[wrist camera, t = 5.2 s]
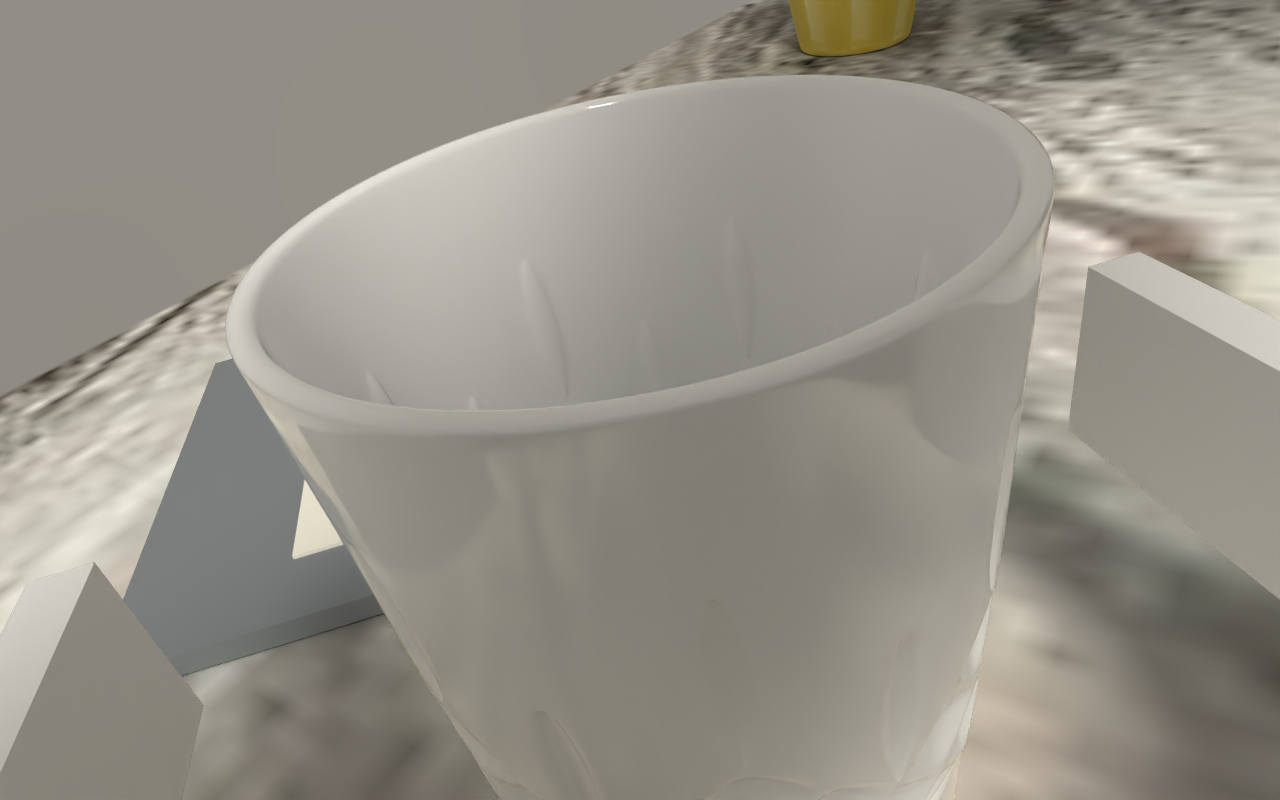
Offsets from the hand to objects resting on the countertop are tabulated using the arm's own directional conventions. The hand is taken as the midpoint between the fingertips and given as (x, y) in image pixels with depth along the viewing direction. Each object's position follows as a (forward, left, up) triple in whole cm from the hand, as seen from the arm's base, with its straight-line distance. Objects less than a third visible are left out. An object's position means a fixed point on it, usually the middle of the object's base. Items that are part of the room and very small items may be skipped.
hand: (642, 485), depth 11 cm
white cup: (0, +1, -6) cm, 6 cm away
